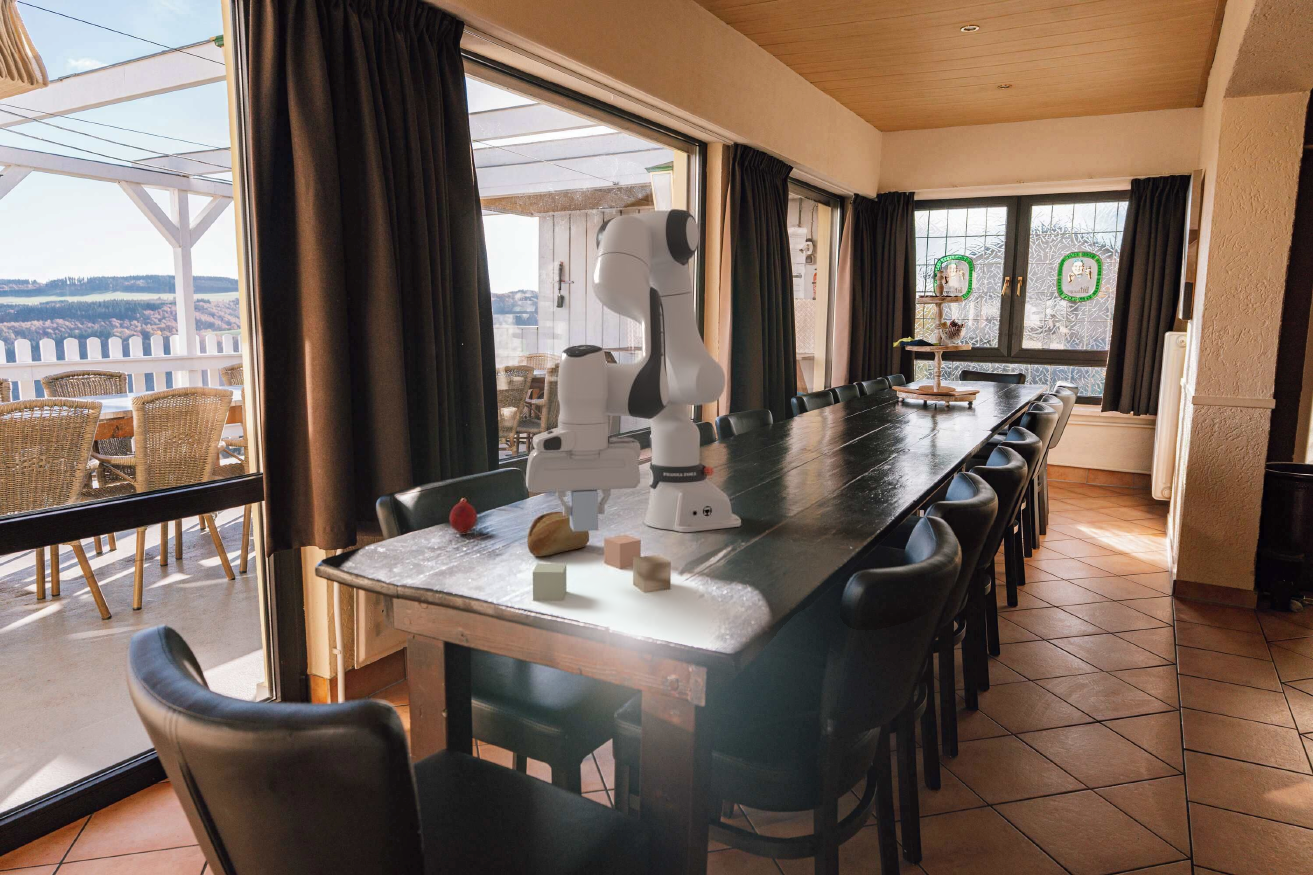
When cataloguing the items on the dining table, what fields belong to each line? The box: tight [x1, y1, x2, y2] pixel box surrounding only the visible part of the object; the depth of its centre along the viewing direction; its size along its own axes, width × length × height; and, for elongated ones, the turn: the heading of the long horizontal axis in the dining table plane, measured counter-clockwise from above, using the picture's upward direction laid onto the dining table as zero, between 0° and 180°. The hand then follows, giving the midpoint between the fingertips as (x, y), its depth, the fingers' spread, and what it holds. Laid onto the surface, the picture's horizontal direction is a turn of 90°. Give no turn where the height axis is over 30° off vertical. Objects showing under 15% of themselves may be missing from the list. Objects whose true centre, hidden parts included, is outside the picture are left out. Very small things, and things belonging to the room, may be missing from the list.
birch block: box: [632, 554, 672, 594], centre depth 145 cm, size 5×5×5 cm
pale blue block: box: [568, 490, 599, 532], centre depth 148 cm, size 4×4×7 cm
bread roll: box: [526, 511, 590, 557], centre depth 168 cm, size 10×15×8 cm, turn 143°
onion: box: [448, 497, 478, 534], centre depth 181 cm, size 6×6×8 cm
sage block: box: [532, 563, 568, 602], centre depth 140 cm, size 5×5×5 cm
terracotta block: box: [603, 534, 642, 570], centre depth 159 cm, size 5×5×5 cm
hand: (583, 514), depth 148 cm, fingers closed on pale blue block, 4 cm apart
